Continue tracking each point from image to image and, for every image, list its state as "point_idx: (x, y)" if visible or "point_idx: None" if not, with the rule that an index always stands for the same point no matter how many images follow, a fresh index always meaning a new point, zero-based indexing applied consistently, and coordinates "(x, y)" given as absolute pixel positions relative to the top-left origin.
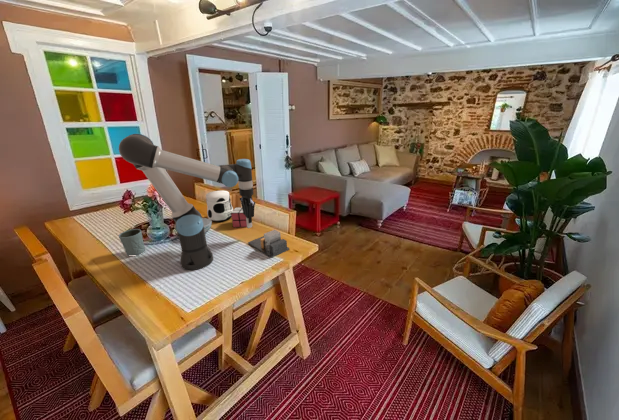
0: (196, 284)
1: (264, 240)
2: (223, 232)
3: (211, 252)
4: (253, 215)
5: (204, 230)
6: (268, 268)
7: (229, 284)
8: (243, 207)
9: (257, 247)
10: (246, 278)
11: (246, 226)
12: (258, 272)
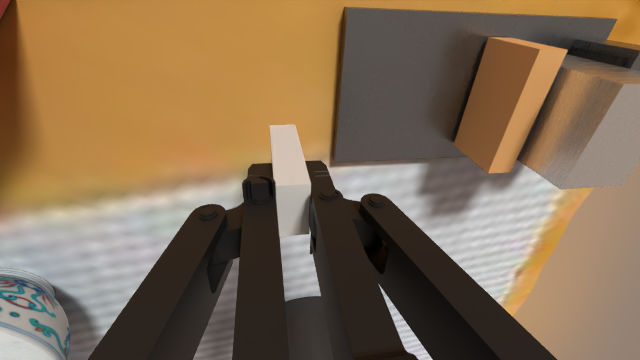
0: (412, 339)
1: (519, 160)
2: (50, 197)
3: (323, 318)
4: (394, 212)
5: (63, 325)
6: (563, 193)
7: (490, 294)
8: (191, 355)
9: (429, 154)
10: (518, 260)
11: (5, 6)
12: (539, 226)
